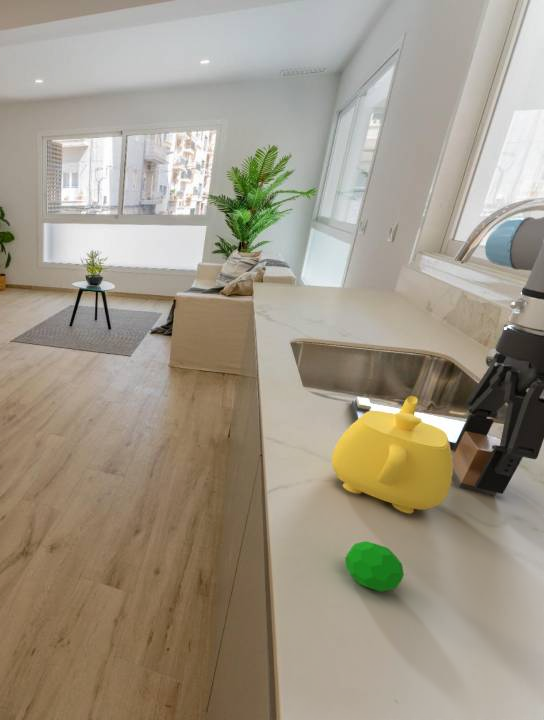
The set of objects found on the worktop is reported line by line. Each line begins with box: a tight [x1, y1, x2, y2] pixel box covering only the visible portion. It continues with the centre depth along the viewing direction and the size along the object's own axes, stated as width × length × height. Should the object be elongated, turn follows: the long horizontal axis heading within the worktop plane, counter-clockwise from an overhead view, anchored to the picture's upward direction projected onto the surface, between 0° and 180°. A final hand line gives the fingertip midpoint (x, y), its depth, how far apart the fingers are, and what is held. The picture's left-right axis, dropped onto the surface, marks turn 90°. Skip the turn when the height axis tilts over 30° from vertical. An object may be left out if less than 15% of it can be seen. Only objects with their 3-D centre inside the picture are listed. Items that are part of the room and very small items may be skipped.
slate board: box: [350, 399, 490, 450], centre depth 80 cm, size 20×11×2 cm, turn 61°
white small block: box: [419, 417, 438, 427], centre depth 78 cm, size 2×4×1 cm, turn 151°
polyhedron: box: [344, 540, 405, 592], centre depth 47 cm, size 5×5×5 cm
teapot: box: [331, 395, 453, 514], centre depth 61 cm, size 13×20×12 cm
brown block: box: [452, 431, 501, 497], centre depth 64 cm, size 4×6×7 cm, turn 150°
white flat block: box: [355, 396, 371, 410], centre depth 86 cm, size 2×4×1 cm, turn 151°
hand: (475, 469), depth 65 cm, fingers open, 10 cm apart
